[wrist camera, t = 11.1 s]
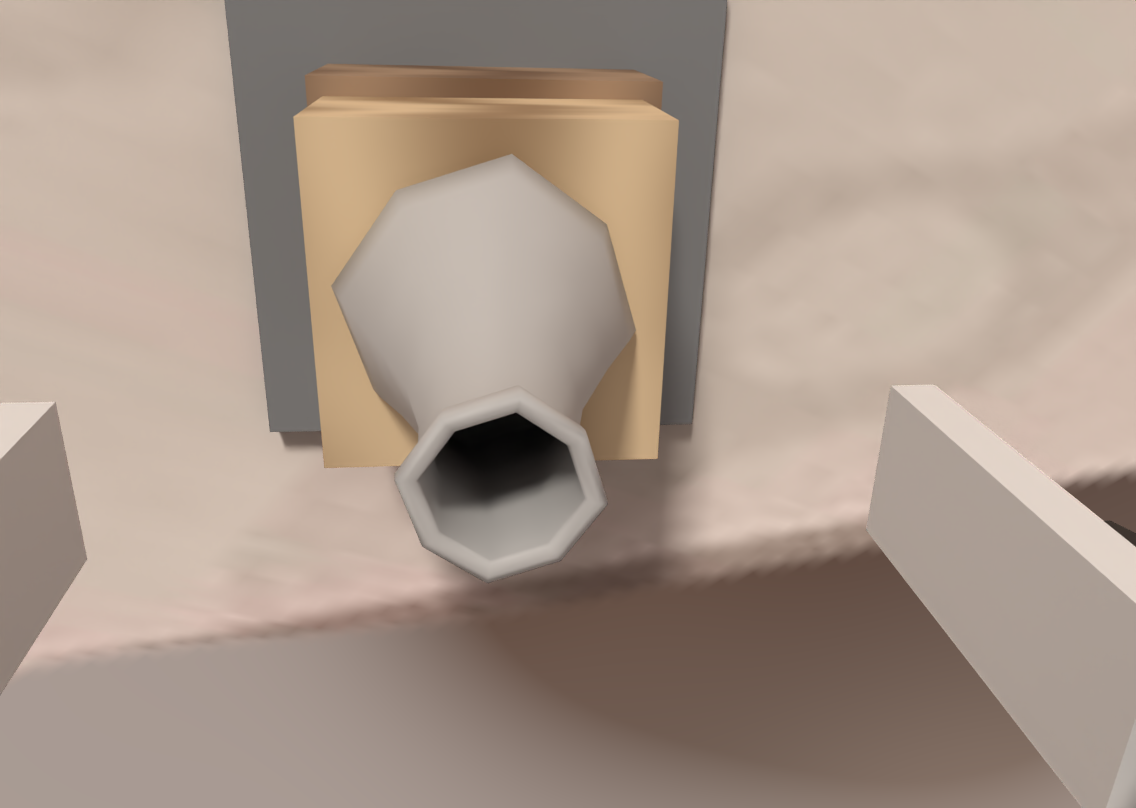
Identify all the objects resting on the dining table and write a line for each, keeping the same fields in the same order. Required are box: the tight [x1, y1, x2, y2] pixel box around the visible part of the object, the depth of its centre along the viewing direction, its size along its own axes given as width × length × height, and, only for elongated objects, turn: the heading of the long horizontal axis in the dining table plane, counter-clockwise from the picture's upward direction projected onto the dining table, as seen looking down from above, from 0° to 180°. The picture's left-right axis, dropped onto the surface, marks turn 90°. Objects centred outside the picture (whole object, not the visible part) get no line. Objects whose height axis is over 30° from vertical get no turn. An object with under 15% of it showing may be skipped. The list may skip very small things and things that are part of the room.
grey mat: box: [225, 0, 727, 432], centre depth 34 cm, size 16×16×1 cm
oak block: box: [293, 96, 679, 468], centre depth 26 cm, size 9×9×5 cm
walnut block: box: [305, 64, 663, 110], centre depth 31 cm, size 10×10×5 cm
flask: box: [331, 154, 636, 583], centre depth 20 cm, size 7×7×10 cm
